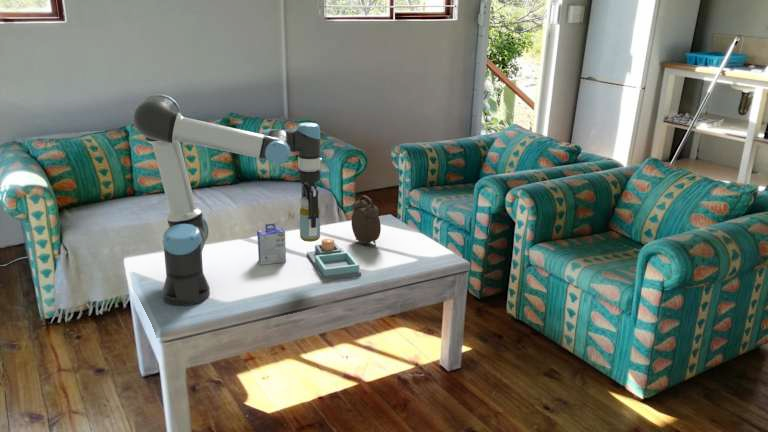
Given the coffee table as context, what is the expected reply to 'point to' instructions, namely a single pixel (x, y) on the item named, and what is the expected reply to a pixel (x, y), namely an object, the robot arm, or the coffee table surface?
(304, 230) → the bottle
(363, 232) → the alarm clock
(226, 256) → the coffee table surface
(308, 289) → the coffee table surface
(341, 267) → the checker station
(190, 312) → the coffee table surface
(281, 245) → the ink cartridge box
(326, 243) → the button
